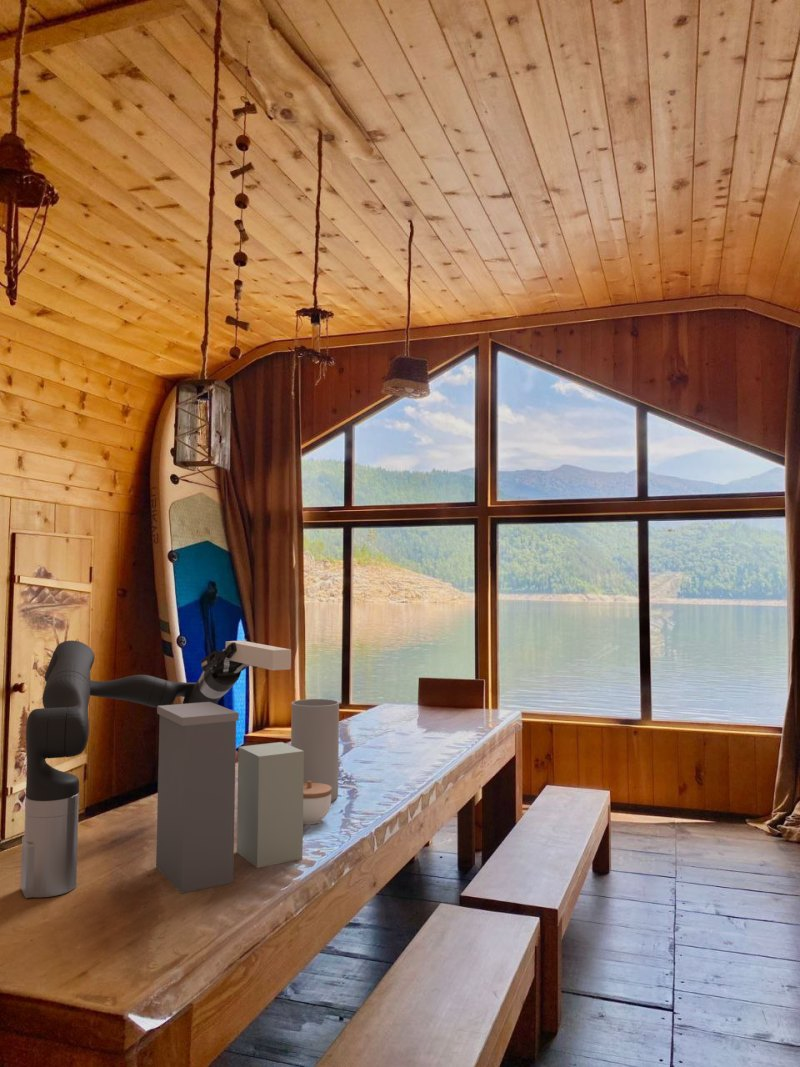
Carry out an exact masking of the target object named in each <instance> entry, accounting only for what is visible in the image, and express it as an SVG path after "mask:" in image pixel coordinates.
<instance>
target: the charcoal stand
mask: <svg viewBox="0 0 800 1067" xmlns="http://www.w3.org/2000/svg"><path fill="white" fill-rule="evenodd" d="M156 711H157V712H156V713H157V715H159V721H158V723H159V724H158V725H159V726H158V728H159V729H158V731H159V732H158V733H159V734H158V762H157V763H158V764H157V766H158V770H157V813H156V814H157V815H156V816H157V817H156V818H157V819H156V858H155V860H156V861H155V864H156V866H155V867H156V868H157V870H158V871H159V872H160V873H161V874H162V875H163V876H164V878H166V879H167V880H168V881H169V882H170V883H171V884H172V886H174V888H176V890H177V891H178V892H180V894H185V893H189V892H194V891H200V890H204V889H210V888H215V887H219V886H224V885H228V884H234V865H235V864H234V861H235V858H234V856H235V853H234V852H235V851H234V850H235V805H236V804H235V803H236V802H235V800H236V749H237V748H236V747H237V746H236V745H237V744H236V742H237V739H236V737H237V721H239V719H240V718H239V715H240V712H238V711H236V710H233V709H229V708H228V707H224V706H222V705H219V704H218V703H217V704H215V703H212V702H200V703H188V704H183V703H177V704H176V703H175V704H172V705H163V706H157V708H156Z"/></svg>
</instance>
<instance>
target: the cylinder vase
mask: <svg viewBox="0 0 800 1067" xmlns="http://www.w3.org/2000/svg"><path fill="white" fill-rule="evenodd" d="M290 721H291V725H290V727H291V728H290V746H293V747H295V748H298V749H300V750H302V751H304V775H303V783H307V781H312V783H323V784H327V785H329V786H331V787H332V793H331V802H333V801H335V800H336V799H337V798H338V796H339V754H340V752H339V751H340V750H339V746H340V745H339V743H340V742H339V738H340V737H339V736H340V735H339V734H340V702H339V701H338V700H333V699H328V698H327V699H326V698H324V699H323V698H310V699H309V698H308V699H297V700H294V701H291V720H290Z"/></svg>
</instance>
